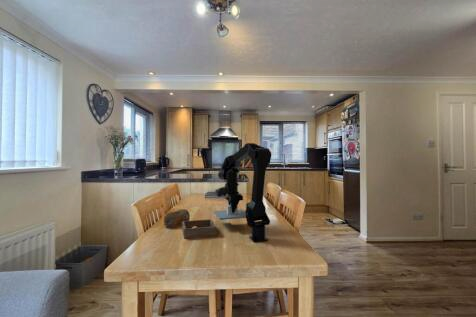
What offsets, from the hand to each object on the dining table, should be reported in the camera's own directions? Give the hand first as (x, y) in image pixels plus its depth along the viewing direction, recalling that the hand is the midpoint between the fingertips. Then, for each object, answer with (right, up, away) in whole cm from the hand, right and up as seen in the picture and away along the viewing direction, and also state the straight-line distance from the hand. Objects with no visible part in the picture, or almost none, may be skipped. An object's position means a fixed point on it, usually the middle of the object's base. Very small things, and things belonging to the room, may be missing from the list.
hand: (232, 212), depth 128 cm
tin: (-28, -8, +1) cm, 30 cm away
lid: (0, -2, 0) cm, 2 cm away
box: (-15, -8, -13) cm, 21 cm away
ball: (-17, -7, -15) cm, 23 cm away
